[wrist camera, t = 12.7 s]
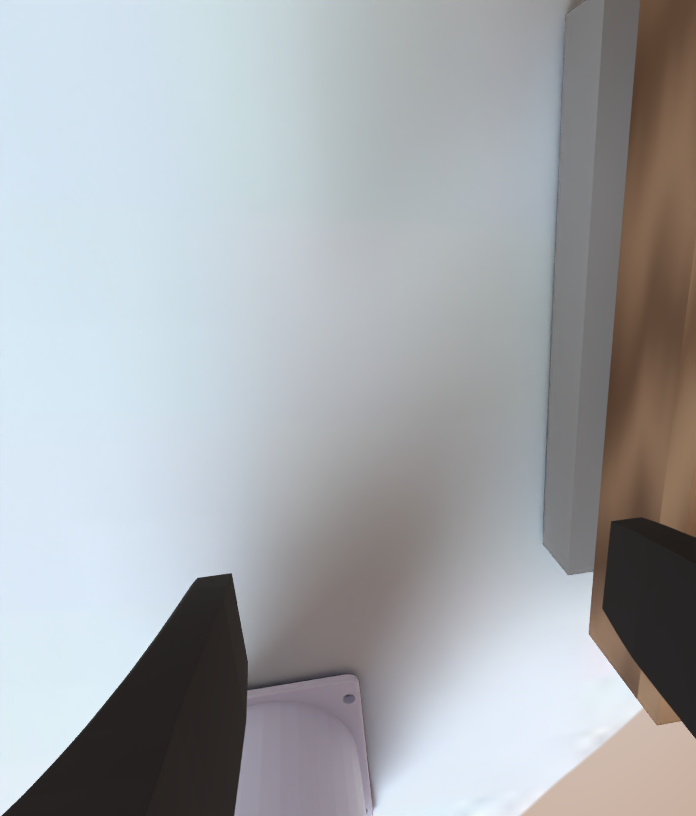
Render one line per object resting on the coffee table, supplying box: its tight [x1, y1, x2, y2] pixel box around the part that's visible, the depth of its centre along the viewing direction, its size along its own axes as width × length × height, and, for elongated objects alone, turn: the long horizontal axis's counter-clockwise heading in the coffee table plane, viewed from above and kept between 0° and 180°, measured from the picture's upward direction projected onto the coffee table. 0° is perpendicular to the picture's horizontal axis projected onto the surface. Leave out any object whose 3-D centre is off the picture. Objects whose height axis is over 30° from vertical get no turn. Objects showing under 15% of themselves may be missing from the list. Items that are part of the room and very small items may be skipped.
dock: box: [543, 0, 640, 575], centre depth 18 cm, size 18×7×2 cm, turn 5°
